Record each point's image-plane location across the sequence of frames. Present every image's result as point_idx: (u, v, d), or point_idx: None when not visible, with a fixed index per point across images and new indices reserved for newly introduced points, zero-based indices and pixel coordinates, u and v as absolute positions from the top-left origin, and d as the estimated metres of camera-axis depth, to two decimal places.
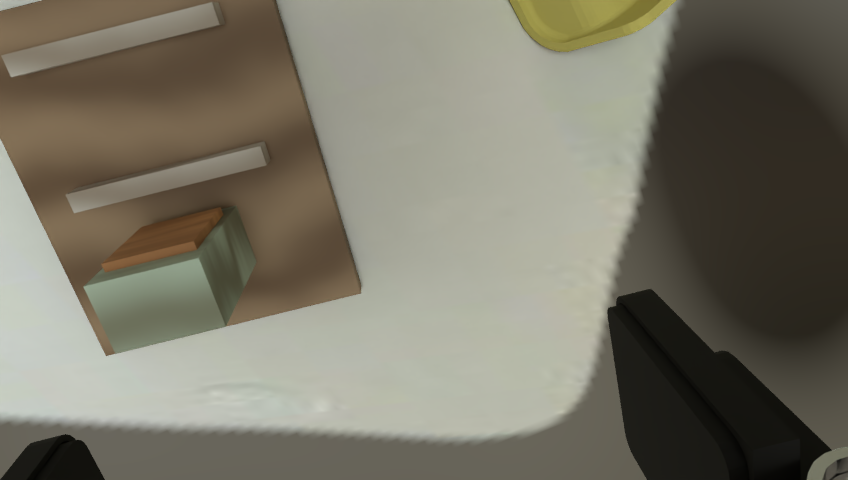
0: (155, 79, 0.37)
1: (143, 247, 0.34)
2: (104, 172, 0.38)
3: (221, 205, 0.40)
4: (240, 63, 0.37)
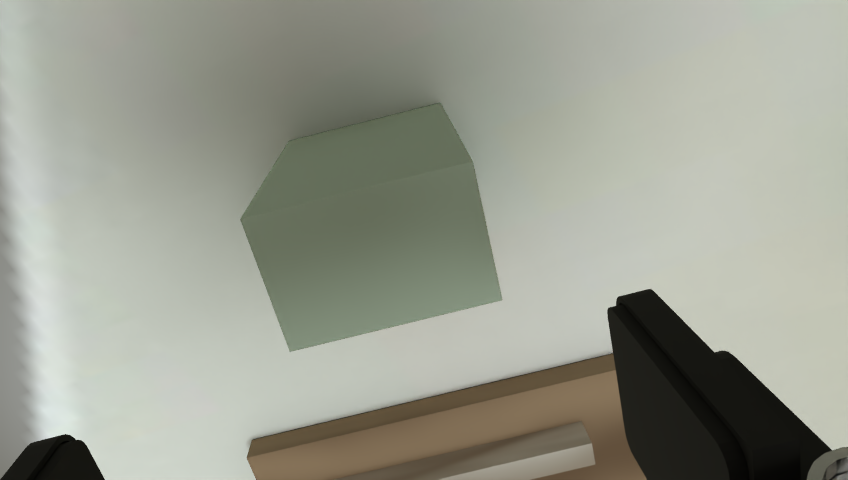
0: None
1: None
2: None
3: None
4: (593, 478, 0.30)
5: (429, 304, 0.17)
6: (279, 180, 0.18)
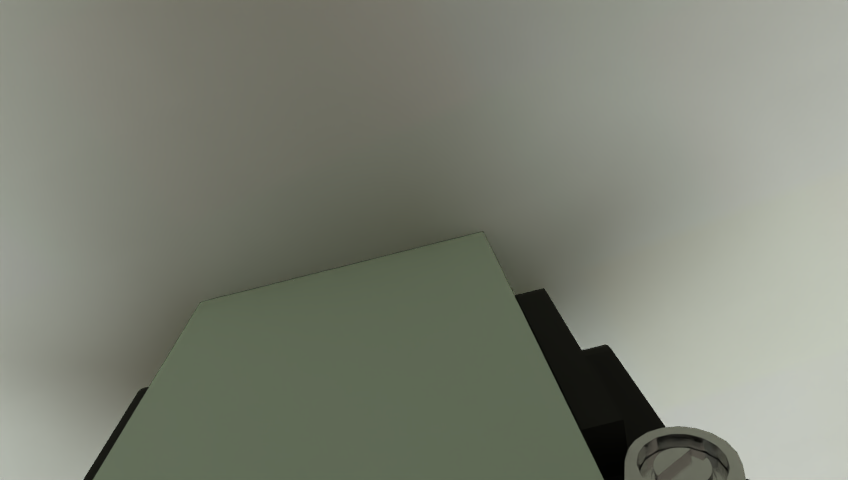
0: None
1: None
2: None
3: None
4: None
5: None
6: None
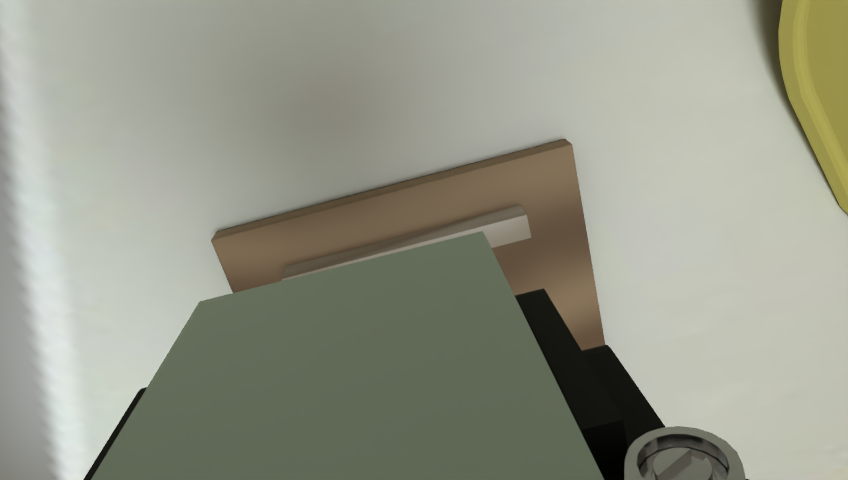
0: None
1: None
2: None
3: None
4: (534, 266, 0.32)
5: None
6: None
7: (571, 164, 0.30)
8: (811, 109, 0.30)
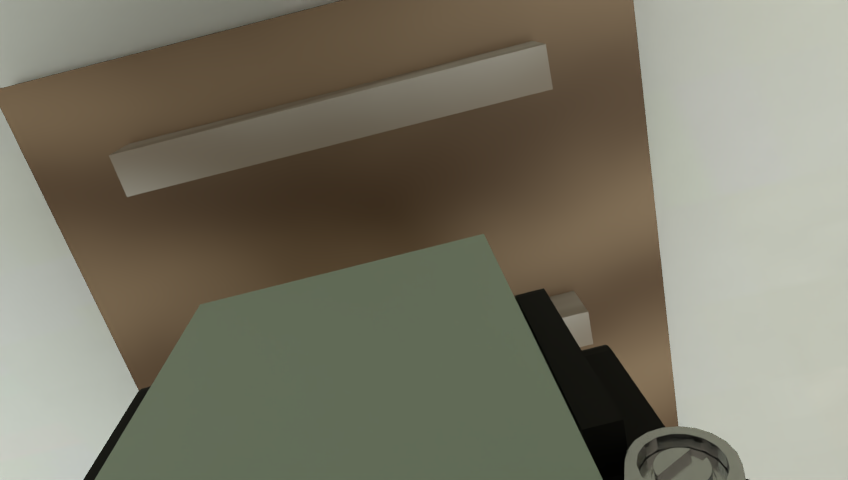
0: (392, 187, 0.19)
1: None
2: None
3: None
4: (554, 155, 0.19)
5: None
6: None
7: None
8: None
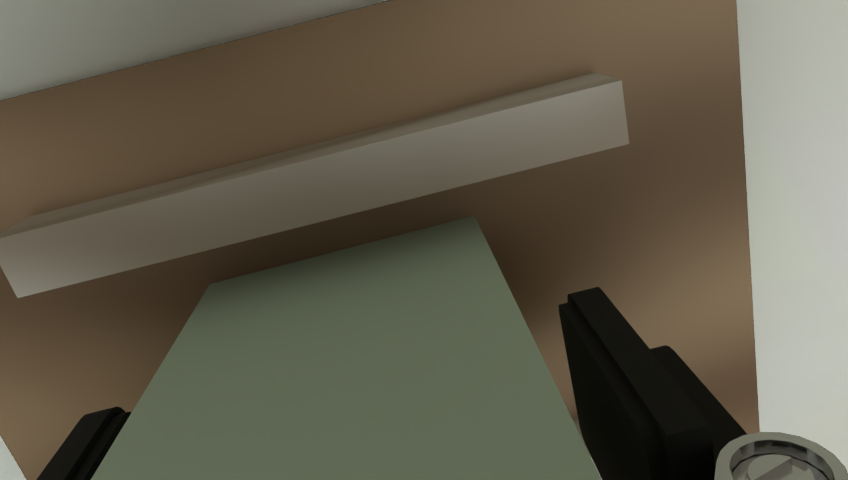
0: None
1: None
2: None
3: None
4: (620, 227, 0.14)
5: None
6: (135, 462, 0.08)
7: None
8: None
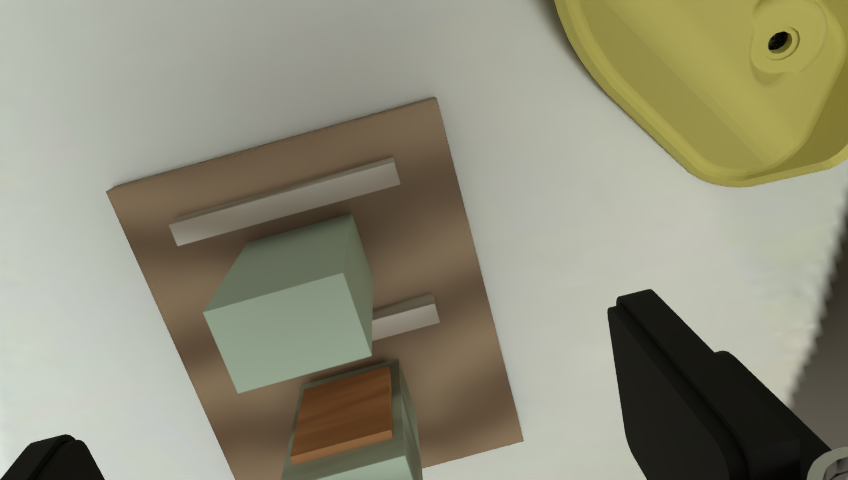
0: None
1: (329, 432, 0.31)
2: None
3: (382, 359, 0.37)
4: (412, 216, 0.34)
5: (324, 360, 0.27)
6: (231, 281, 0.28)
7: (438, 118, 0.33)
8: (627, 96, 0.33)
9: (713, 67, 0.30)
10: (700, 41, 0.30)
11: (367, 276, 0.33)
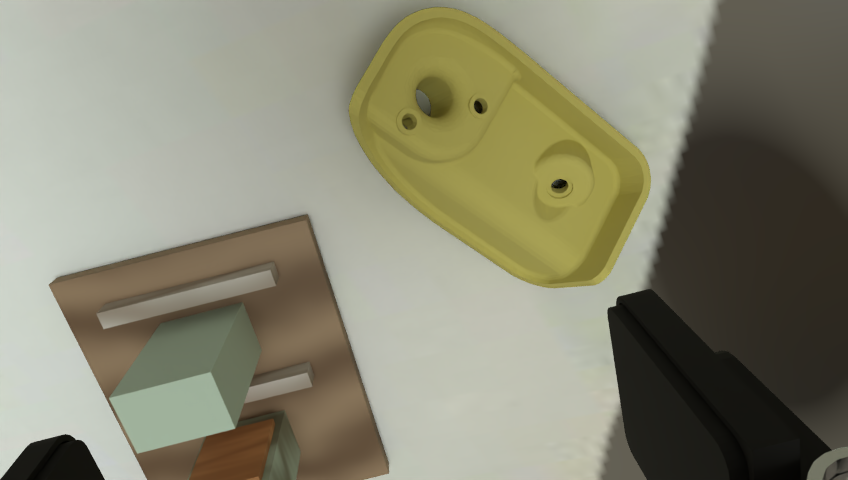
0: None
1: (215, 475, 0.41)
2: None
3: (272, 410, 0.47)
4: (290, 305, 0.44)
5: (200, 431, 0.36)
6: (137, 367, 0.38)
7: (307, 233, 0.42)
8: (450, 225, 0.43)
9: (502, 212, 0.40)
10: (489, 196, 0.39)
11: (251, 353, 0.43)
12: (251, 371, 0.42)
